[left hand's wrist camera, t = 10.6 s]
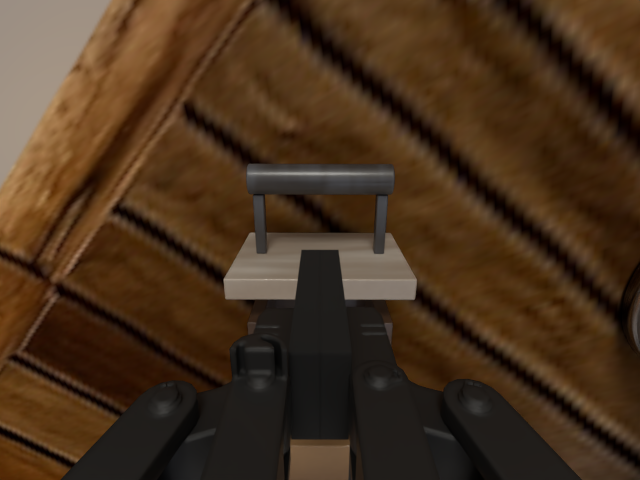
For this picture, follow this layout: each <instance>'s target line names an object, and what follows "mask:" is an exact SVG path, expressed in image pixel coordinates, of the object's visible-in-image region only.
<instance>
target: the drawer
mask: <svg viewBox="0 0 640 480" xmlns="http://www.w3.org/2000/svg"><path fill="white" fill-rule="evenodd" d="M246 182H247V189H248V192H249V194H254V195H253V205H254V221H255V233H250V234H249V235H248V237H247V239H246V241H245V242H244V244H243V246H242V248H241V250H240V251H239V253H238V255H237V257H236V258H235V260H234V262H233V264H232V266H231V267H230V269H229V271H228V273H227V274H226V276H225V278H224V290H225V298H226V299H255V302H254V305H253V308H252V311H251V314H250V317H249V320H248V323H247V324H248V335H249V334H253V332H254V329H255V325H256V322H257V319H258V316H259V315H260V314H261V313H262V312H263V311H264V310H265V309H266V308H294V304H295V296H296V288H297V280H298V273H299V265H300V257H301V250H339V257H340V265H341V273H342V280H343V288H344V296H345V304H346V307H374V308H375V309H376V310H377V311H378V312H379V313H380V314H381V315H382V317H383V321H384V324H385V327H386V331H387V335H388V337H389V341H390V344H391V340H392V328H393V323H392V320H391V317H390V314H389V311H388V308H387V305H386V302H385V300H415V295H416V285H417V279H416V277H415V276H414V274H413V272H412V270H411V269H410V267H409V265H408V263H407V261H406V260H405V258H404V256H403V254H402V252H401V251H400V249H399V247H398V245H397V244H396V242H395V240H394V238H393V236H392V235H391V233H386V218H387V203H388V195H391V194H392V192H393V189H394V182H395V173H394V167H393V165H392V164H248V166H247V172H246ZM265 194H343V195H376V205H375V223H374V233H267V229H266V210H265Z"/></svg>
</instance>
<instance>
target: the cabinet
mask: <svg viewBox="0 0 640 480" xmlns="http://www.w3.org/2000/svg"><path fill="white" fill-rule="evenodd" d="M290 450H291V463H290V476H289V480H348V477H349V450H350V440H291V441H290Z"/></svg>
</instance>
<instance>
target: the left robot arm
mask: <svg viewBox="0 0 640 480" xmlns="http://www.w3.org/2000/svg"><path fill="white" fill-rule="evenodd" d="M622 324H623V330H624V333H625V336H626V339H627V341H628V343H629V344H630V346H631V348H632V349H633V350H634V351H635V353H636V354H637V355H638V356H640V265H639V266H638V268H637V269H636V271H635V273H634V275H633V277H632V278H631V280H630V283H629V285H628V287H627V290H626V293H625V297H624V301H623V307H622ZM230 359H231V369H232V381H231V382H230V383H228V384H226V385H224V386H222V387H219V388H216V389H213V390H209V391H205V392H200V393H197V392H196V389H195V388H194V387H193V385H192V384H190V383H187V382H185V381H168V382H164V383H160V384H158V385H156V386H154V387H151V388H149V389H148V390H147V391H146V392H144V393H143V394H142V395H141V396H139V398H138V399H137V400H136V401H135V402H134V403H133V404H132V405H131V406H130V407H129V408H128V409H127V410H126V411H125V412H124V413H123V414H122V415H121V417H120V418H119V419H118V420H117V421H116V422H115V423H114V424H113V425H112V426H111V427H110V428H109V429H108V430H107V431H106V432H105V433H104V434H103V436H102V437H101V438H100V439H99V440H98V441H97V442H96V443H95V444H94V445H93V446H92V447H91V448H90V449H89V450H88V451H87V452H86V453H85V454H84V456H83V457H82V458H81V459H80V460H79V461H78V462H77V463H76V464H75V465H74V466H73V467H72V468H71V469H70V470H69V471H68V472H67V473H66V475H65V476H64V477H63V478H62V479H61V480H289V476H290V463H291V450H290V441H291V440H350V450H349V477H348V480H582V479H581V478H580V477H579V476H578V475H577V474H576V473H575V472H574V471H573V470H572V469H571V468H570V467H569V466H568V465H567V464H566V463H565V462H564V461H563V460H562V458H561V457H560V456H559V455H558V454H557V453H556V452H555V451H554V450H553V449H552V448H551V447H550V446H549V445H548V444H547V443H546V442H545V441H544V440H543V439H542V438H541V436H540V435H539V434H538V433H537V432H536V431H535V430H534V429H533V428H532V427H531V426H530V425H529V424H528V423H527V422H526V421H525V420H524V419H523V418H522V417H521V416H520V414H519V413H518V412H517V411H516V410H515V409H514V408H513V407H512V406H511V405H510V404H509V403H508V402H507V401H506V400H505V399H504V398H503V397H502V396H501V395H500V394H499V393H498V392H497V391H495V390H494V389H493V388H492V387H490V386H488V385H486V384H484V383H481V382H479V381H475V380H470V379H457V380H454V381H452V382H449V383H448V384H447V385H446V387H445V388H444V392H442V391H437V390H433V389H429V388H425V387H422V386H419V385H417V384H415V383H413V382H411V381H409V380H408V378H407V376H406V374H405V373H404V371H403V370H402V369H401V368H399V367H398V366H397V364H396V361H395V358H394V354H393V351H392V347H391V344H390V341H389V337H388V335H387V331H386V327H385V324H384V321H383V317H382V315H381V314H380V313H379V312H378V311H377V310H376V309H375V308H374V307H346V304H345V296H344V288H343V280H342V273H341V265H340V257H339V250H301V257H300V265H299V273H298V280H297V288H296V296H295V304H294V308H266V309H265V310H264V311H263V312H262V313H261V314H260V315H259V316H258V319H257V322H256V325H255V329H254V332H253V334H249V335H247V336H244V337H241V338H240V339H238V340H237V341H236V342H234V343H233V345H232V346H231V348H230Z"/></svg>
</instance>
